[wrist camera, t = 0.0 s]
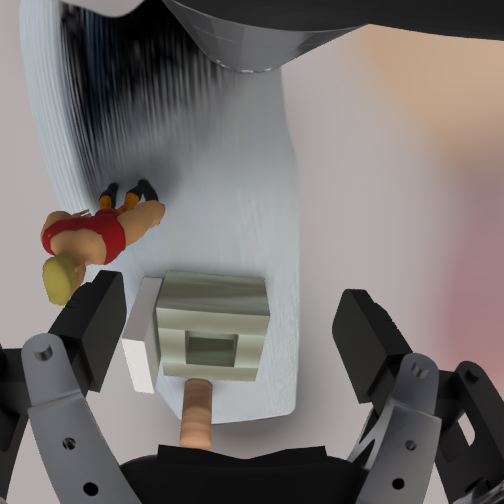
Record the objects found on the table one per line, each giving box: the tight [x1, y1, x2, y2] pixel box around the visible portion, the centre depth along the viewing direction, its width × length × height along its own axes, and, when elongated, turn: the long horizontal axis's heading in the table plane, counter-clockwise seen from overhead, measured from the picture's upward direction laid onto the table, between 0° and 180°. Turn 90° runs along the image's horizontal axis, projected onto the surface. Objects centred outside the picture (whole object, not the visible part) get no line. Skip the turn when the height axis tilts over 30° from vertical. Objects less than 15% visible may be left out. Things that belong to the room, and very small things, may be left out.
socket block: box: [156, 271, 270, 381], centre depth 31 cm, size 10×10×6 cm
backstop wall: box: [121, 277, 163, 394], centre depth 28 cm, size 8×2×9 cm, turn 173°
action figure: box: [41, 180, 165, 305], centre depth 19 cm, size 10×4×15 cm, turn 91°
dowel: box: [180, 378, 212, 450], centre depth 36 cm, size 4×4×10 cm
